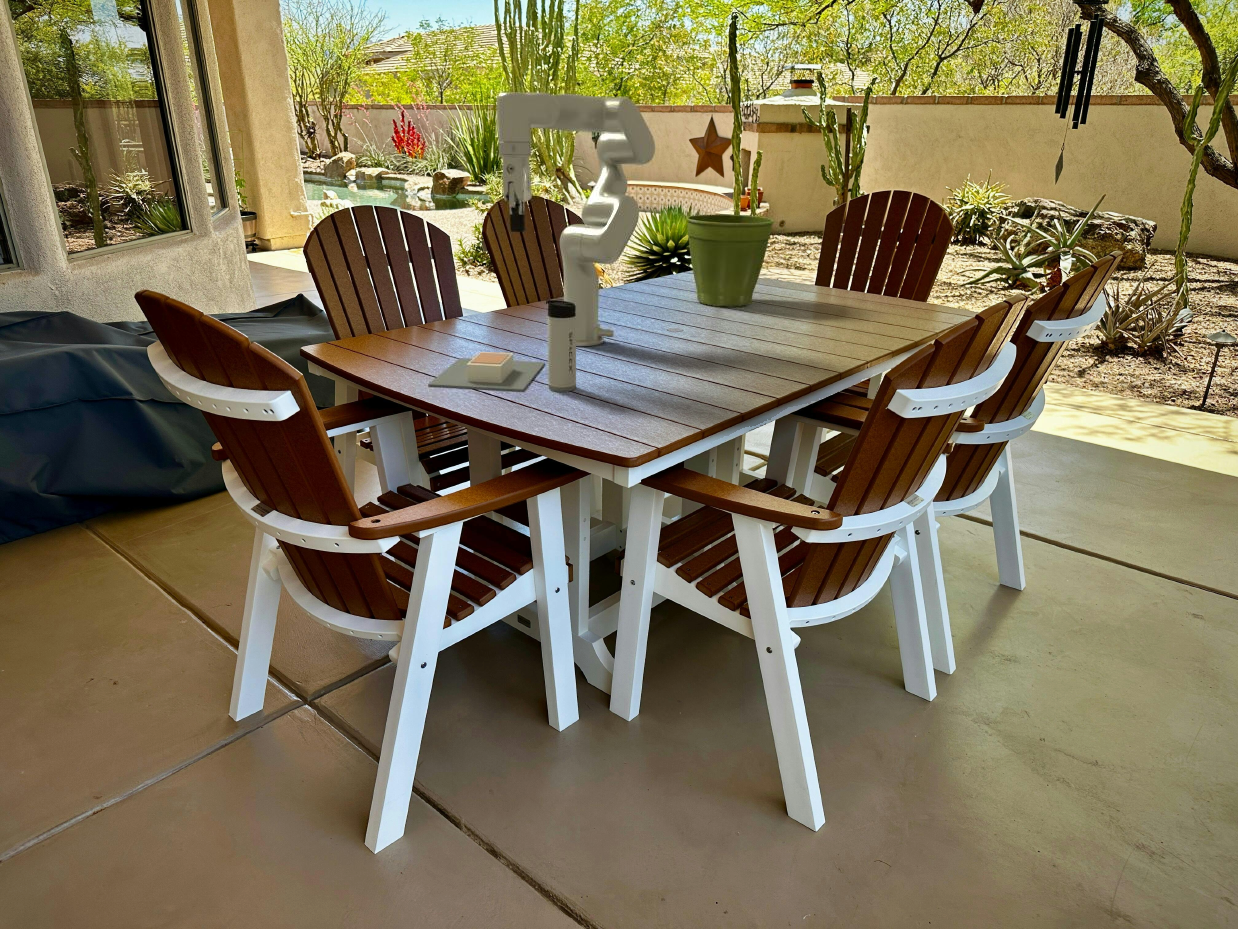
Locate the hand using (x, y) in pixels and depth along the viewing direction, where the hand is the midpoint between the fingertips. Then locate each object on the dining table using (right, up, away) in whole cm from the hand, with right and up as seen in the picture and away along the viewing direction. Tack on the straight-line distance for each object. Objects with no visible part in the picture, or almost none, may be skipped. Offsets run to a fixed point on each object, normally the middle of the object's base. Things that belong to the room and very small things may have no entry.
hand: (517, 231), depth 196 cm
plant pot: (+62, 0, +90) cm, 109 cm away
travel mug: (+11, -39, -12) cm, 43 cm away
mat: (-6, -35, -2) cm, 36 cm away
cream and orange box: (-5, -31, 0) cm, 32 cm away
